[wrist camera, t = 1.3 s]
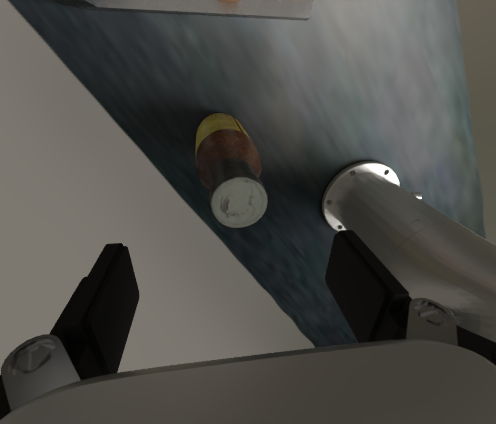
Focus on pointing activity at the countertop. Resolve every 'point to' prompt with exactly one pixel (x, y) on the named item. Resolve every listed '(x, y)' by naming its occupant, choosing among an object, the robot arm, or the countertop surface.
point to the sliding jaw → (229, 0)
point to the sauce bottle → (230, 171)
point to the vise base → (205, 7)
